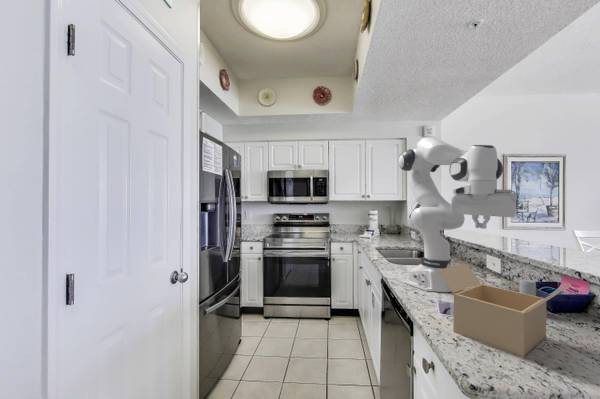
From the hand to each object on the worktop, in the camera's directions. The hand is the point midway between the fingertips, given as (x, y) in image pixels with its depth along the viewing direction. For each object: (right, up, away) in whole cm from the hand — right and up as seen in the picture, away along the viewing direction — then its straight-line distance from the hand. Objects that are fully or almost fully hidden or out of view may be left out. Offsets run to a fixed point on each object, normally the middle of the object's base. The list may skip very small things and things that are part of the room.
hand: (480, 228), depth 99 cm
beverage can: (+21, -33, +5) cm, 39 cm away
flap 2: (+4, -17, -22) cm, 28 cm away
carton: (-3, -32, -13) cm, 34 cm away
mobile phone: (-8, -33, +7) cm, 34 cm away
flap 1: (-9, -17, -3) cm, 19 cm away
